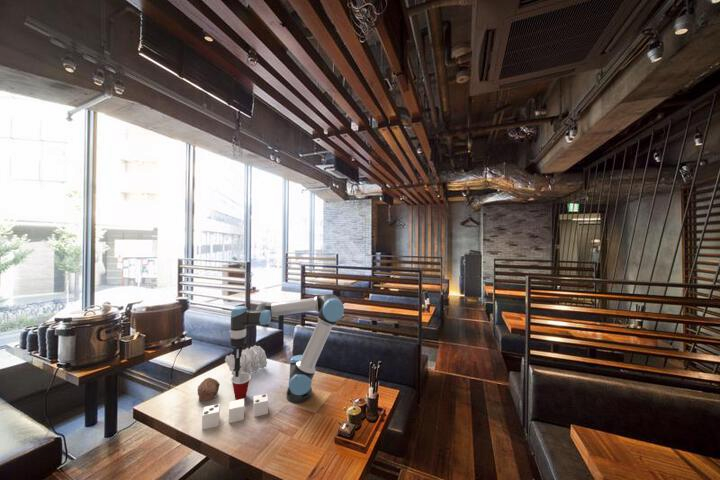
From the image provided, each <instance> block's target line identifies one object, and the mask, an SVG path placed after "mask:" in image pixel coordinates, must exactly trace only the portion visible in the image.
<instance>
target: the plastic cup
mask: <svg viewBox="0 0 720 480" xmlns="http://www.w3.org/2000/svg"><path fill="white" fill-rule="evenodd" d="M251 378H252V375H251V374H248V373H240V382H237V383H234V376H233V375H232V377H231V379H230V381H231V384H232V387H233V394H234V398H235V400H239V399H244V400H245V399H246V397H247V393H248V389H249V384H250V381H251Z"/></svg>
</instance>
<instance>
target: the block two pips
mask: <svg viewBox="0 0 720 480" xmlns="http://www.w3.org/2000/svg"><path fill="white" fill-rule="evenodd" d="M252 398H253V404H252V409H253V413H252V414H253V418H254V417H255V418H256V417H259V416H263V415H268V414H269V397H268V393H263V394H258V395H253V397H252Z"/></svg>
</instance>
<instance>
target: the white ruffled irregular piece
mask: <svg viewBox="0 0 720 480" xmlns="http://www.w3.org/2000/svg"><path fill="white" fill-rule="evenodd" d="M267 358H268V357H267V355H266V351H265V350H264V349H263V348H262V347H261V346H260V345H258V346H257V345H256V344H255V345H253V346H250V348H249V347H246V348H245V349H242V352H241V357H240V366H241V368H240V373H248V374H250V375H251V373H253V372H254V373H257V372H258V371H260V369H261V370H264V368H267V364H268V361H267V360H268V359H267ZM224 362H225V364H227V366H228V368H229V371H230V372H231V375H232V377H233V376H234V371H233V369H235V368H234V367H235V365H234V364H235V358H234V354H232V353H230V354H229V355H226V356H225V359H224Z"/></svg>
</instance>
